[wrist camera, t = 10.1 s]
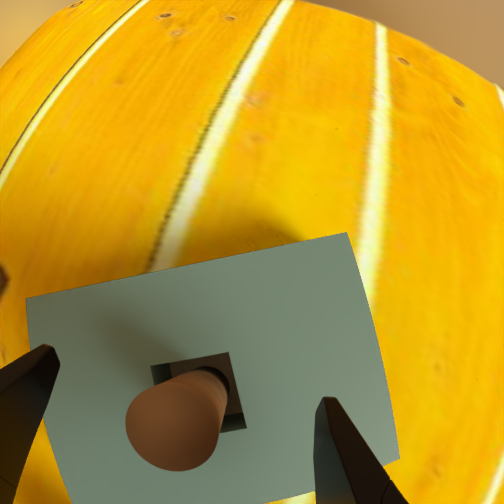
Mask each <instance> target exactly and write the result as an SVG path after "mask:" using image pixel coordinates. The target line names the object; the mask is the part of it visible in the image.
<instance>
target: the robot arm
mask: <svg viewBox="0 0 504 504" xmlns="http://www.w3.org/2000/svg"><path fill="white" fill-rule="evenodd" d="M59 370H60V360H59V358H58V356H57V353H56V351H55V348H54V347H53V346H51V345H48V344H42V345H40V346H38V347H36V348H35V349H33V350H31V351H30V352H28V353H26V354H25V355H23V356H21V357H20V358H18V359H16V360H15V361H13V362H11V363H10V364H8V365H6V366H5V367H3V368H2V369H0V504H13V501H14V497H15V494H16V490H17V487H18V483H19V480H20V477H21V474H22V471H23V468H24V465H25V462H26V459H27V456H28V454H29V451H30V448H31V445H32V443H33V440H34V437H35V435H36V432H37V430H38V427H39V425H40V422H41V420H42V417H43V415H44V413H45V410H46V408H47V405H48V403H49V400H50V397H51V394H52V391H53V387H54V384H55V381H56V378H57V375H58V372H59ZM313 464H314V478H315V493H316V504H409V503H408V502H407V501H406V499H405V498H404V497H403V495H402V494H401V493H400V491H399V490H398V488H397V487H396V486H395V484H394V483H393V481H392V480H390V477H389V475H388V474H387V472H386V471H385V469H384V468H383V466H382V465H381V464H380V462H379V461H378V459H377V458H376V456H375V455H374V453H373V452H372V450H371V449H370V447H369V446H368V444H367V443H366V441H365V440H364V438H363V437H362V435H361V434H360V432H359V431H358V429H357V428H356V426H355V425H354V423H353V422H352V420H351V419H350V417H349V416H348V414H347V413H346V411H345V410H344V408H343V407H342V405H341V404H340V402H339V401H338V399H337V398H336V397H330V396H324V397H323V398H322V399H321V401H320V403H319V405H318V407H317V409H316V412H315V425H314V448H313Z"/></svg>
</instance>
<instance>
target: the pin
mask: <svg viewBox="0 0 504 504" xmlns="http://www.w3.org/2000/svg"><path fill="white" fill-rule="evenodd" d="M229 392H230V386H229V382H228V379H227V378H226V376H225V375H224V374H223V373H222V372H221V371H220V370H218V369H216V368H214V367H210V366H201V367H198V368H195V369H193V370H191V371H188V372H186V373H184V374H182V375H179V376H177V377H175V378H172V379H170V380H168V381H165V382H163V383H160V384H158V385H156V386H153V387H151V388H148V389H146V390H144V391H142V392H141V393H140V394H138V395H137V396H136V397H135V398H134V399H133V401H132V402H131V404H130V405H129V407H128V410H127V413H126V418H125V427H126V433H127V436H128V439H129V441H130V443H131V445H132V447H133V448H134V450H135V451H136V452H137V453H138V454H139V455H140V456H141V457H142V458H143V459H144V460H145V461H147V462H148V463H150V464H152V465H153V466H155V467H158V468H160V469H163V470H168V471H175V472H179V471H188V470H191V469H194V468H197V467H199V466H200V465H202V464H204V463H205V462H206V461H207V460H208V459H209V458H210V457H211V455H212V454H213V452H214V450H215V448H216V446H217V442H218V438H219V434H220V430H221V425H222V421H223V417H224V413H225V409H226V405H227V401H228V397H229Z"/></svg>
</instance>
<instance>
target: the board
mask: <svg viewBox="0 0 504 504" xmlns="http://www.w3.org/2000/svg"><path fill="white" fill-rule="evenodd" d="M26 310H27V323H28V333H29V342H30V350H33V349H35V348H36V347H38V346H40V345H42V344H48V345H51V346H53V347H54V348H55V351H56V353H57V356H58V358H59V360H60V370H59V372H58V375H57V378H56V381H55V384H54V387H53V391H52V394H51V397H50V400H49V403H48V405H47V408H46V410H45V413H44V415H43V418H44V422H45V426H46V430H47V433H48V437H49V440H50V444H51V447H52V450H53V453H54V456H55V459H56V462H57V465H58V468H59V471H60V474H61V476H62V479H63V482H64V484H65V487H66V489H67V492H68V494H69V497H70V499H71V501H72V504H263V503H268V502H273V501H277V500H282V499H286V498H290V497H294V496H298V495H302V494H305V493H309V492H312V491H315V478H314V464H313V448H314V425H315V412H316V409H317V407H318V405H319V403H320V401H321V399H322V398H323V397H324V396H330V397H336V398H337V399H338V401H339V402H340V404H341V405H342V407H343V408H344V410H345V411H346V413H347V414H348V416H349V417H350V419H351V420H352V422H353V423H354V425H355V426H356V428H357V429H358V431H359V432H360V434H361V435H362V437H363V438H364V440H365V441H366V443H367V444H368V446H369V447H370V449H371V450H372V452H373V453H374V455H375V456H376V458H377V459H378V461H379V462H380V464H381V465H382V466H384V465H386V464H389V463H391V462H393V461H395V460H397V459H400V455H399V448H398V441H397V435H396V428H395V422H394V417H393V411H392V405H391V400H390V395H389V390H388V385H387V380H386V375H385V370H384V366H383V361H382V357H381V352H380V348H379V344H378V340H377V335H376V331H375V327H374V323H373V320H372V316H371V312H370V308H369V304H368V301H367V297H366V294H365V290H364V287H363V283H362V280H361V276H360V273H359V269H358V266H357V263H356V260H355V256H354V253H353V250H352V247H351V244H350V241H349V237H348V234H347V232H345V233H340V234H335V235H331V236H326V237H321V238H316V239H311V240H306V241H302V242H297V243H292V244H287V245H282V246H277V247H272V248H268V249H263V250H258V251H253V252H248V253H243V254H239V255H234V256H229V257H224V258H219V259H214V260H210V261H205V262H200V263H195V264H190V265H185V266H181V267H176V268H171V269H166V270H161V271H156V272H152V273H147V274H142V275H137V276H132V277H127V278H123V279H118V280H113V281H108V282H103V283H98V284H94V285H89V286H84V287H79V288H74V289H69V290H65V291H60V292H55V293H50V294H45V295H40V296H36V297H31V298H26ZM201 366H210V367H214V368H216V369H218V370H220V371H221V372H222V373H223V374H224V375H225V376H226V378H227V379H228V382H229V386H230V392H229V397H228V401H227V405H226V409H225V413H224V417H223V421H222V425H221V430H220V434H219V438H218V442H217V446H216V448H215V450H214V452H213V454H212V455H211V457H210V458H209V459H208V460H207V461H206V462H205V463H204V464H202V465H200V466H199V467H197V468H194V469H191V470H188V471H179V472H175V471H168V470H163V469H160V468H158V467H155V466H153V465H152V464H150V463H148V462H147V461H145V460H144V459H143V458H142V457H141V456H140V455H139V454H138V453H137V452H136V451H135V450H134V448H133V447H132V445H131V443H130V441H129V439H128V436H127V433H126V427H125V418H126V413H127V410H128V407H129V405H130V404H131V402H132V401H133V399H134V398H135V397H136V396H137V395H138V394H140V393H141V392H142V391H144V390H146V389H148V388H151V387H153V386H156V385H158V384H160V383H163V382H165V381H168V380H170V379H172V378H175V377H177V376H179V375H182V374H184V373H186V372H188V371H191V370H193V369H195V368H198V367H201Z"/></svg>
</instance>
